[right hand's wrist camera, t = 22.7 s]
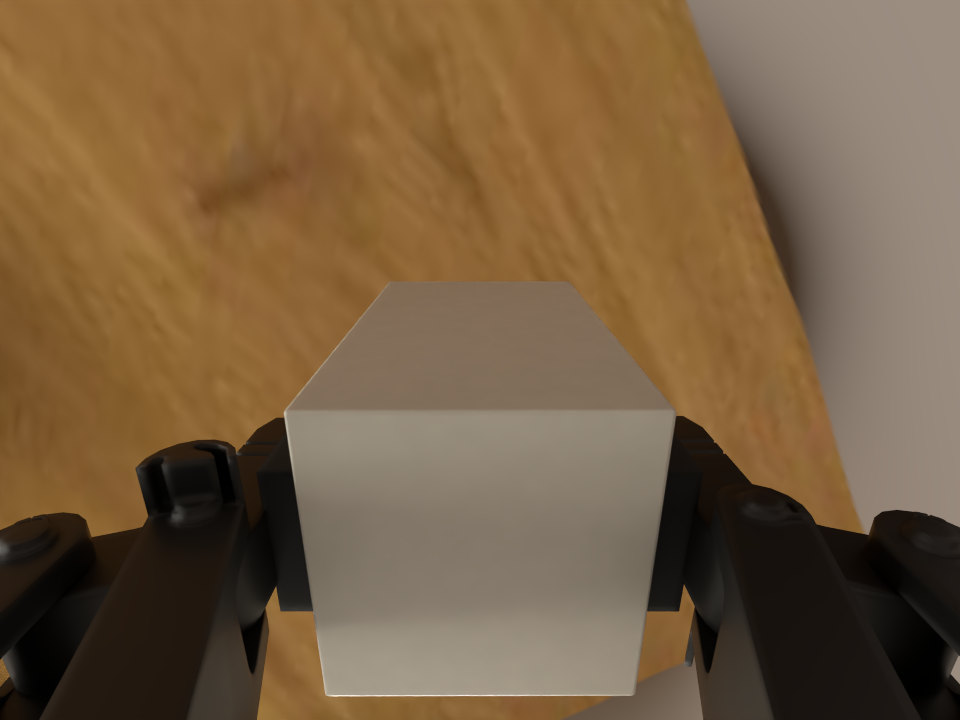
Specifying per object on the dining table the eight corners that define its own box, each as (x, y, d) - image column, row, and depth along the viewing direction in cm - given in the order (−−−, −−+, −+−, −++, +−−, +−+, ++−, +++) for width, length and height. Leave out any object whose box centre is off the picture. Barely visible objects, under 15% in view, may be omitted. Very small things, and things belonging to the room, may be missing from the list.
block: (570, 280, 15) (678, 411, 7) (559, 443, 16) (635, 698, 8) (389, 281, 15) (281, 411, 7) (399, 443, 16) (324, 698, 8)
